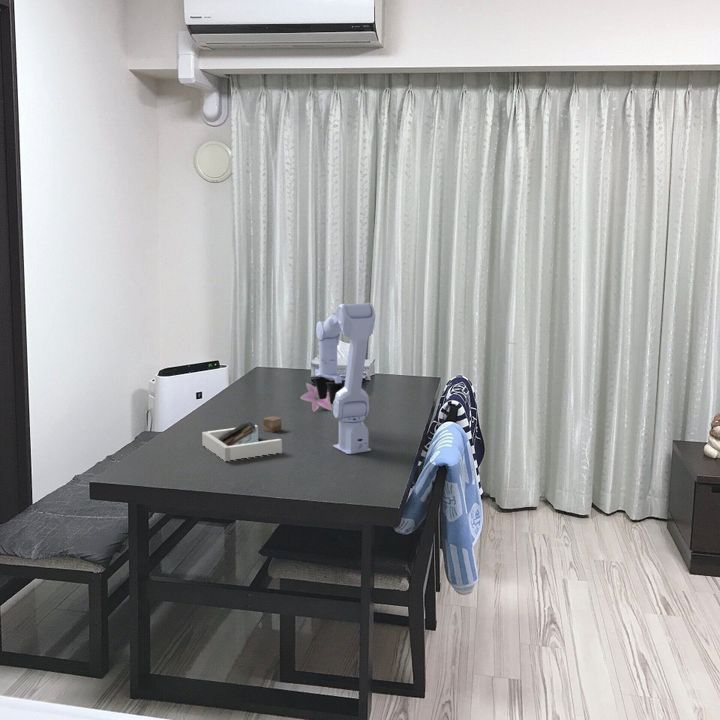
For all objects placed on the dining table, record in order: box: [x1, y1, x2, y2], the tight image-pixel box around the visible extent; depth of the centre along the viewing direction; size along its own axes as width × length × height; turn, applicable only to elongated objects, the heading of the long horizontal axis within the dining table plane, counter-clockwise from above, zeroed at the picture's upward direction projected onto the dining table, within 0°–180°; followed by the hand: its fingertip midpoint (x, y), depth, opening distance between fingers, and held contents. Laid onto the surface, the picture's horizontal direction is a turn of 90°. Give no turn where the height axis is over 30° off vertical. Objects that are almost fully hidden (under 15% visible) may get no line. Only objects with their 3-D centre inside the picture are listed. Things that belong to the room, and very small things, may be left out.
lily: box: [299, 382, 333, 412], centre depth 300 cm, size 12×12×10 cm
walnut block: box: [263, 415, 282, 433], centre depth 272 cm, size 4×4×4 cm
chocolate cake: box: [219, 418, 260, 446], centre depth 255 cm, size 10×7×12 cm
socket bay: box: [201, 424, 283, 462], centre depth 251 cm, size 19×18×4 cm
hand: (328, 401), depth 269 cm, fingers open, 7 cm apart
